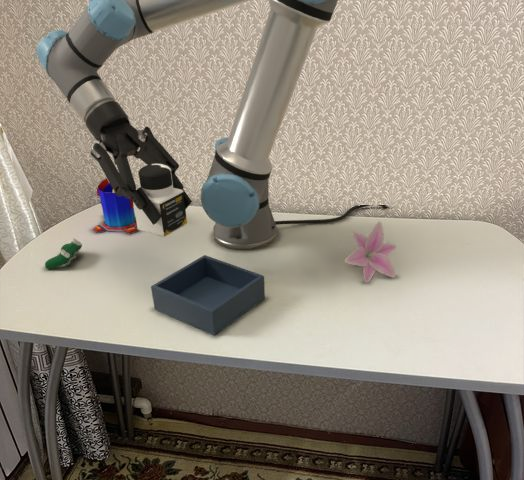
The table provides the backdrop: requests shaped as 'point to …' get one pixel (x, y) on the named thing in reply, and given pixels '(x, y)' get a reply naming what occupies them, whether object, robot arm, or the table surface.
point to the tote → (208, 294)
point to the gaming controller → (64, 255)
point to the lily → (372, 253)
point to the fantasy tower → (115, 211)
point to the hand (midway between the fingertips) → (172, 212)
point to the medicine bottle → (161, 201)
